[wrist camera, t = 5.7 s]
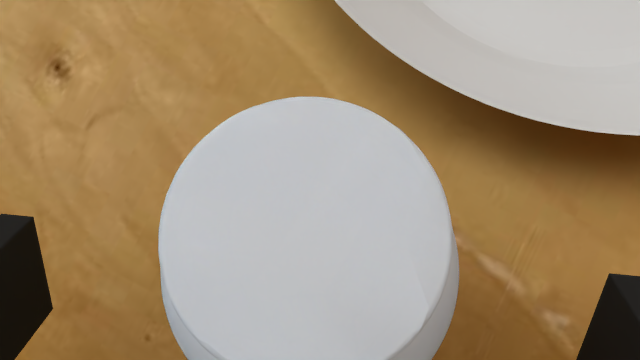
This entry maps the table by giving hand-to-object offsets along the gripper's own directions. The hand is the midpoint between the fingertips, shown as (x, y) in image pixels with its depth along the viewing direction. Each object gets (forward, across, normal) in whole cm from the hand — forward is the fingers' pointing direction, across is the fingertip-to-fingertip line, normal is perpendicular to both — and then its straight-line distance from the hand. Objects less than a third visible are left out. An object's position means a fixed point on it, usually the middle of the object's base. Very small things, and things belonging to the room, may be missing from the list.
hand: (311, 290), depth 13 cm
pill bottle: (+5, 0, -5) cm, 7 cm away
